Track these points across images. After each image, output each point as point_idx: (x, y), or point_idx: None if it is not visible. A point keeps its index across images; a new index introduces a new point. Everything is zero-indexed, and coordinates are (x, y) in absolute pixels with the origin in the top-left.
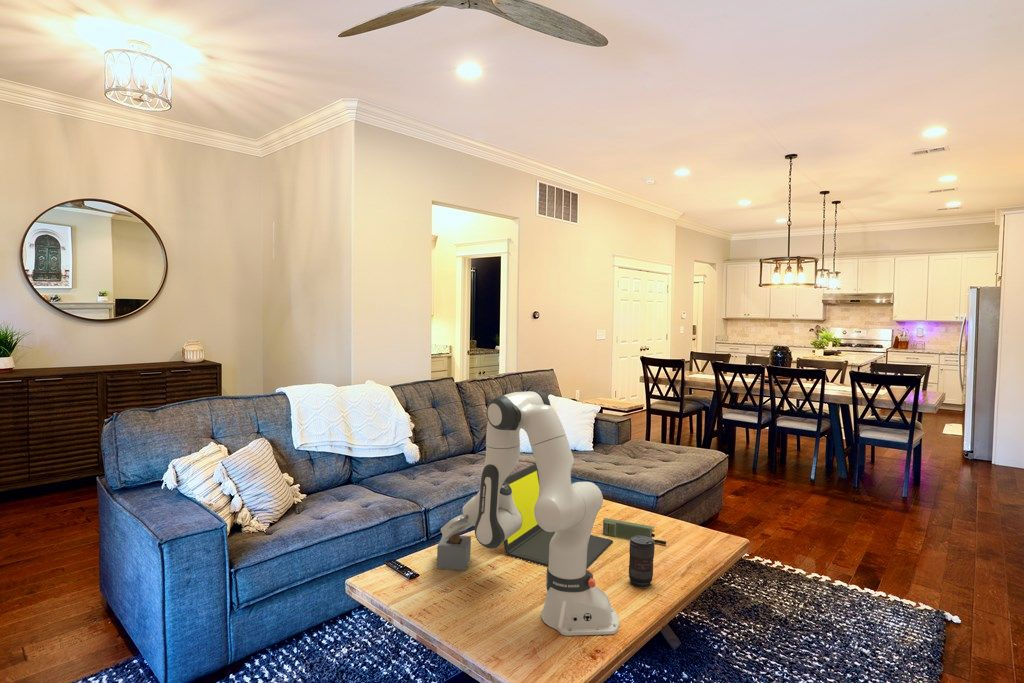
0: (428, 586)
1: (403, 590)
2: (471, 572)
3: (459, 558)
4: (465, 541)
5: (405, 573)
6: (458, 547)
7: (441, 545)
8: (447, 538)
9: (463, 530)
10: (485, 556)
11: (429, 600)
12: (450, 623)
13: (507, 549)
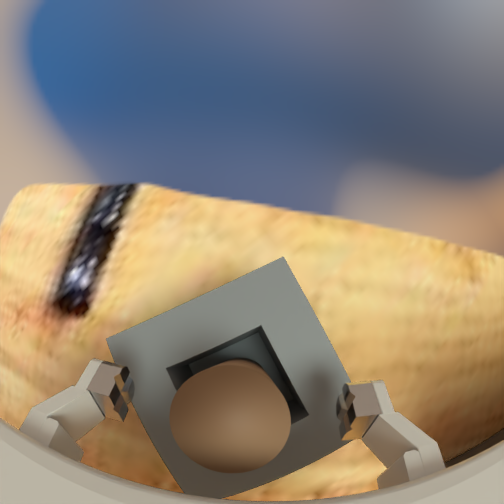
0: (48, 388)
1: (9, 329)
2: None
3: None
4: (277, 458)
5: (75, 265)
6: (168, 467)
7: (122, 359)
8: (242, 325)
9: (340, 420)
10: None
11: (12, 423)
12: None
13: None
